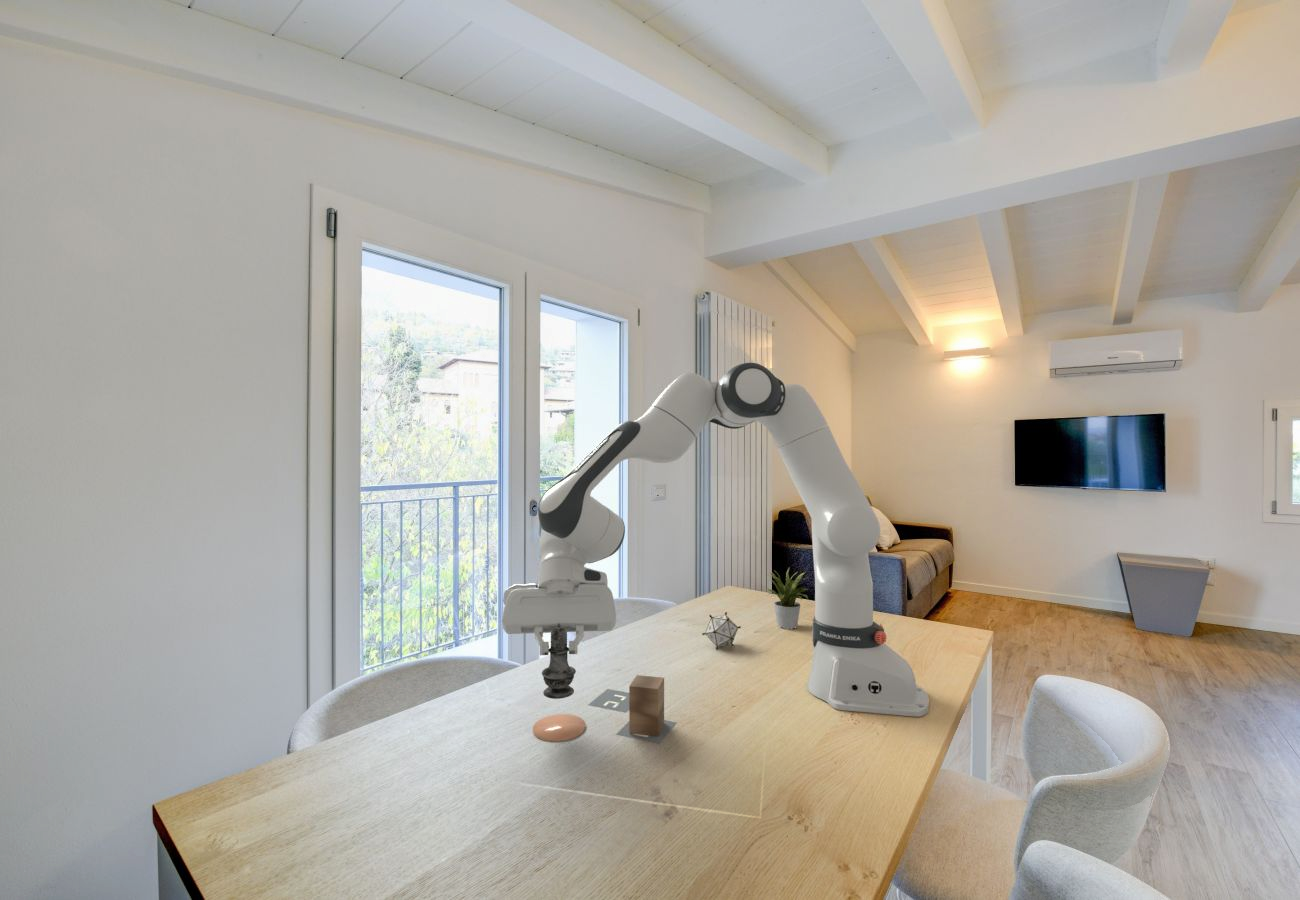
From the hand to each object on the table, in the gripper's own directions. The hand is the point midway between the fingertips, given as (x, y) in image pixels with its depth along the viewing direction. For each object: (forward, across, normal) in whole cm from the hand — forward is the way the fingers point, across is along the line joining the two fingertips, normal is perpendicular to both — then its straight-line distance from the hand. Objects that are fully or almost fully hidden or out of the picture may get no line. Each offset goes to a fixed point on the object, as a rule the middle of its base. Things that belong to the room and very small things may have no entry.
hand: (558, 653), depth 99 cm
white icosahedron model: (-18, +38, +37) cm, 56 cm away
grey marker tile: (+2, +11, +17) cm, 20 cm away
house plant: (-27, +59, +46) cm, 80 cm away
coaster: (+9, 0, +10) cm, 13 cm away
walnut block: (+10, +15, +8) cm, 20 cm away
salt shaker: (+5, 0, +6) cm, 7 cm away
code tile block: (+10, +15, +8) cm, 20 cm away
